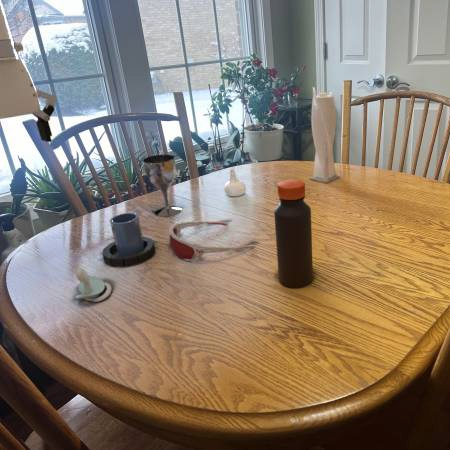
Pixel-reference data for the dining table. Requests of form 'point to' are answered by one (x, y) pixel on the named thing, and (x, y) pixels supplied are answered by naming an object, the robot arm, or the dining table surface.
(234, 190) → the garlic bulb
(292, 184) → the bottle
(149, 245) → the ring
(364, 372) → the dining table surface
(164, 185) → the wine glass
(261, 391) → the dining table surface
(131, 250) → the cup
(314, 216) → the dining table surface
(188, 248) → the sunglasses
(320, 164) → the skyscraper
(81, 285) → the pacifier
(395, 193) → the dining table surface
